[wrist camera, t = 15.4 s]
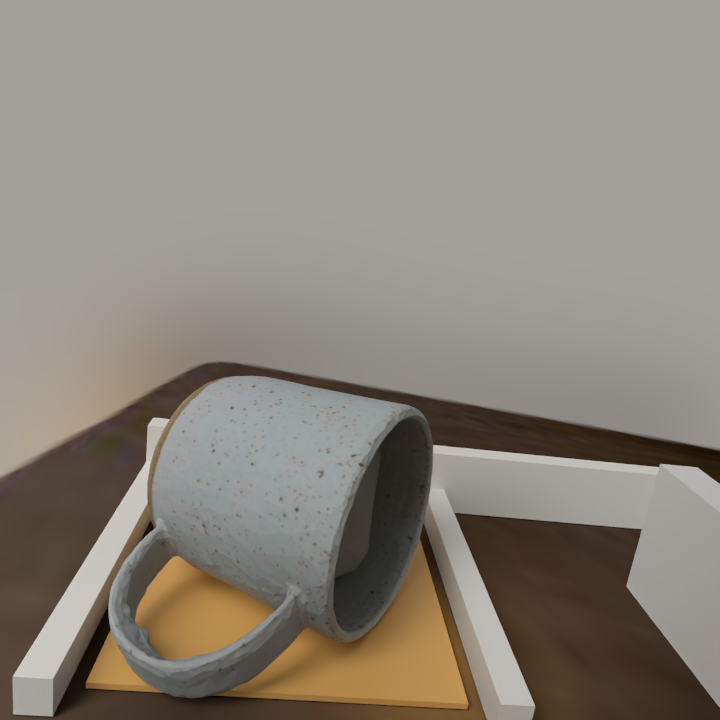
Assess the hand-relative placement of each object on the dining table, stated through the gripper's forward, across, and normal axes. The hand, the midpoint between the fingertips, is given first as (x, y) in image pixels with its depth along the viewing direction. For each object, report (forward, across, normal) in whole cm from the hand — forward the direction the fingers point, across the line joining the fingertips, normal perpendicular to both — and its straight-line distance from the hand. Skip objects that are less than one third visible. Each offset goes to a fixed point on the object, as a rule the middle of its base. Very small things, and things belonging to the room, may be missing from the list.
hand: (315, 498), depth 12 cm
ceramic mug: (+8, -1, -9) cm, 12 cm away
